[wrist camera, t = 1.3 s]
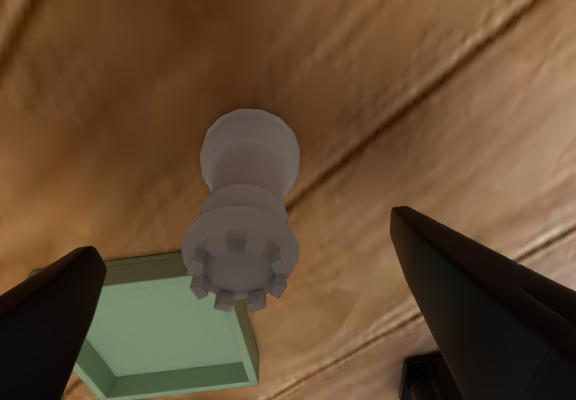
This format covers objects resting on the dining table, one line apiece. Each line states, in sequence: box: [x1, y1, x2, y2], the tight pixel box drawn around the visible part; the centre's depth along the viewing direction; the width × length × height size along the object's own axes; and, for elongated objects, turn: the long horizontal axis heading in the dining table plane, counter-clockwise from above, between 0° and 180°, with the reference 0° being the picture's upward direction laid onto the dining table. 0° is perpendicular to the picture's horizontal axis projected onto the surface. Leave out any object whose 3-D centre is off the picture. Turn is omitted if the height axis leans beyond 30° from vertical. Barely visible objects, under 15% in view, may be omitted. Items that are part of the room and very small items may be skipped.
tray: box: [26, 252, 259, 400], centre depth 20 cm, size 11×11×2 cm
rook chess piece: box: [180, 109, 300, 313], centre depth 11 cm, size 4×4×8 cm
